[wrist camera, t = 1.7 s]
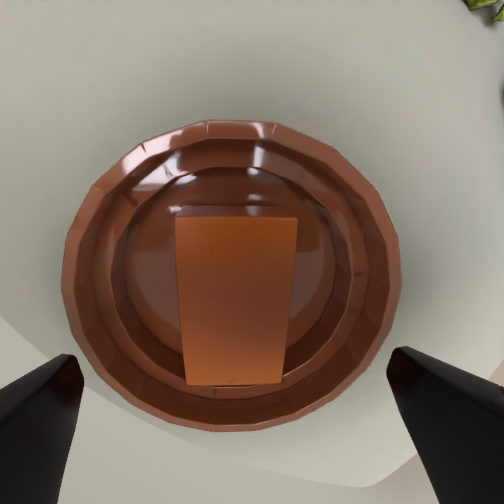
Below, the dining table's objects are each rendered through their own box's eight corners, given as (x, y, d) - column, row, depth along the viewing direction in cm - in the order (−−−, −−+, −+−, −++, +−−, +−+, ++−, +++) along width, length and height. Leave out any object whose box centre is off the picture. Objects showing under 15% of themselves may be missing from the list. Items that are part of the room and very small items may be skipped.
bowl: (335, 369, 17) (360, 416, 13) (122, 373, 15) (105, 424, 11) (368, 146, 13) (420, 144, 9) (94, 139, 11) (47, 134, 7)
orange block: (272, 341, 15) (285, 383, 11) (188, 342, 14) (183, 385, 11) (282, 203, 13) (303, 217, 9) (181, 202, 12) (168, 216, 9)
